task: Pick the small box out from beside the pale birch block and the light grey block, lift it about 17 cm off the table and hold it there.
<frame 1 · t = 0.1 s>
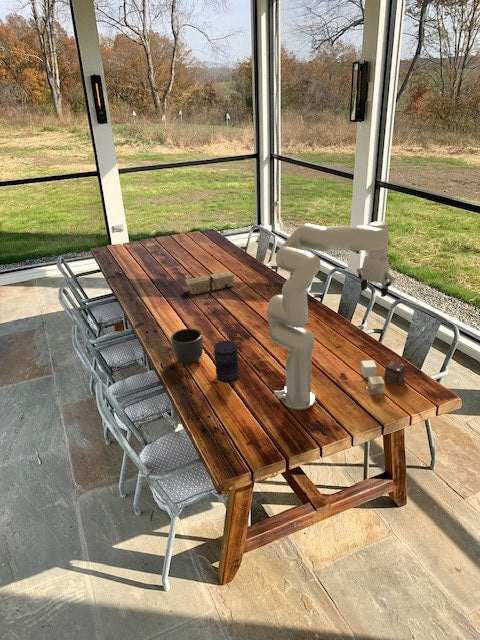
hand: (373, 292, 191), 31 cm above the table, tool pointing down, fingers open, 9 cm apart
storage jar: (227, 377, 198), on the table
grey block: (368, 373, 194), on the table
planter: (189, 360, 212), on the table
box: (393, 381, 188), on the table
birch block: (375, 390, 183), on the table
tan double block: (210, 289, 288), on the table
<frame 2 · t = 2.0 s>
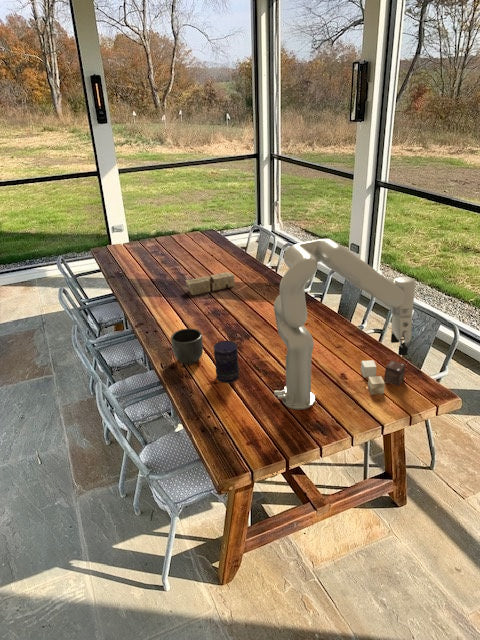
hand: (398, 348, 182), 15 cm above the table, tool pointing down, fingers open, 9 cm apart
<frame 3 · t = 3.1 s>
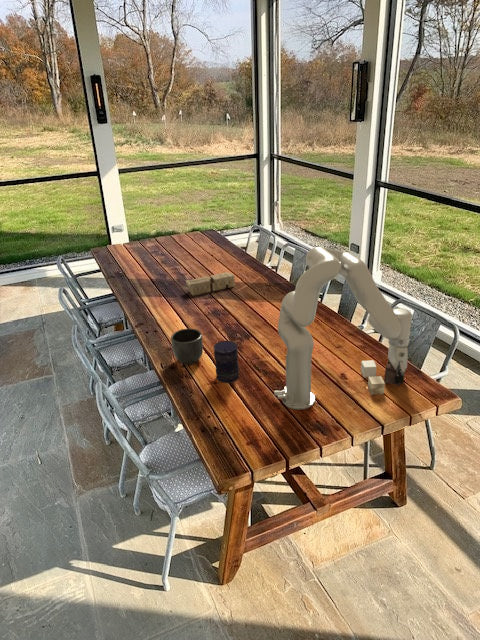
hand: (394, 376, 187), 2 cm above the table, tool pointing down, fingers open, 9 cm apart
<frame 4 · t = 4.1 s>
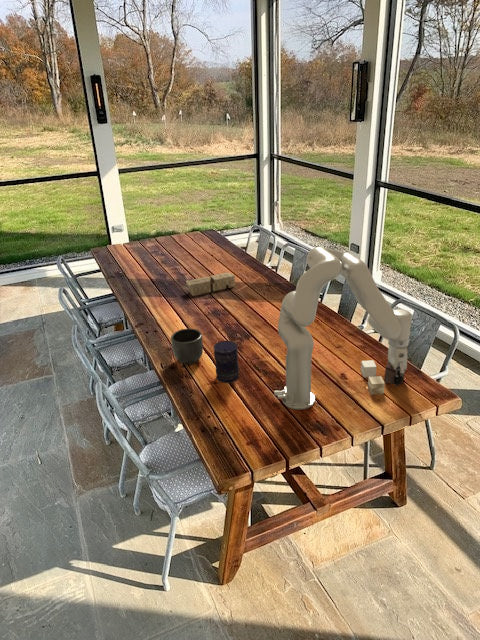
hand: (394, 377, 188), 1 cm above the table, tool pointing down, fingers closed on box, 8 cm apart
box: (393, 381, 188), on the table, touching gripper
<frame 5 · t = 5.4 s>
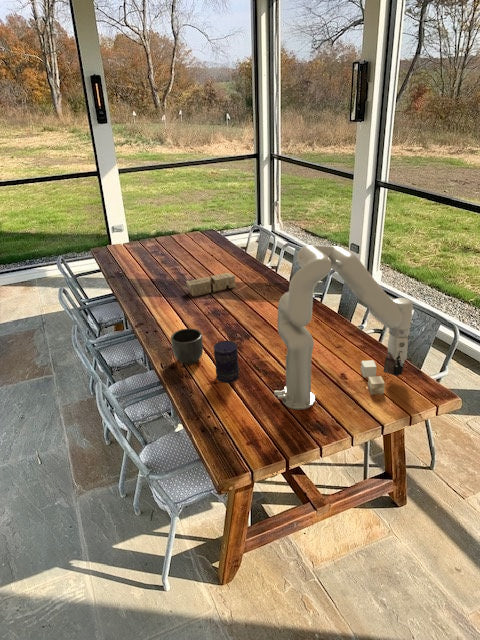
hand: (393, 368, 185), 6 cm above the table, tool pointing down, fingers closed on box, 8 cm apart
box: (393, 371, 186), point 4 cm above the table, touching gripper
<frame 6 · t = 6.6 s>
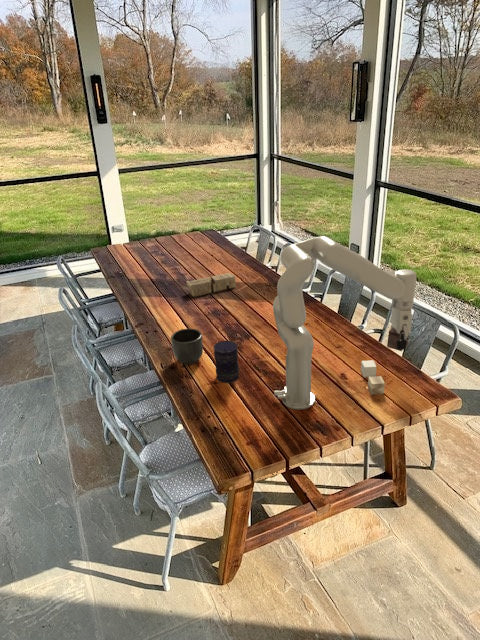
hand: (397, 343, 180), 18 cm above the table, tool pointing down, fingers closed on box, 8 cm apart
box: (397, 346, 181), point 16 cm above the table, touching gripper
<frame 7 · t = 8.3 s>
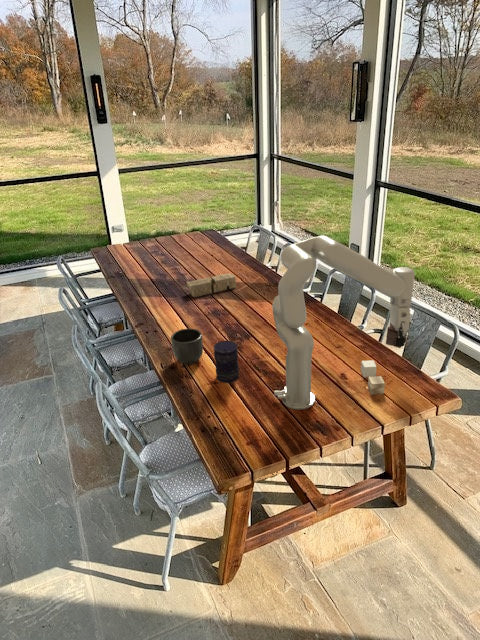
hand: (396, 340, 182), 18 cm above the table, tool pointing down, fingers closed on box, 8 cm apart
box: (395, 343, 183), point 16 cm above the table, touching gripper
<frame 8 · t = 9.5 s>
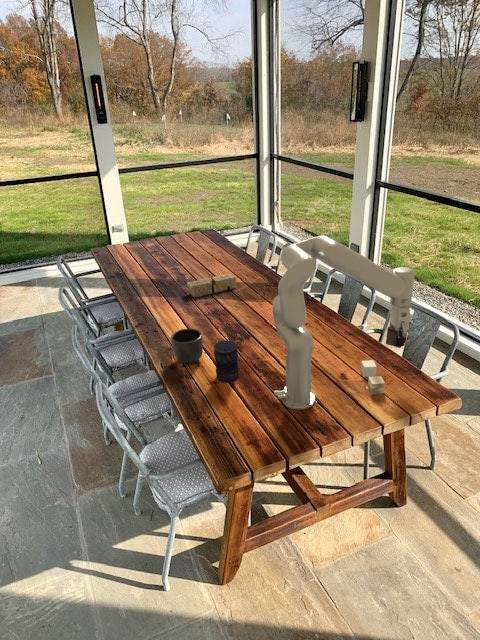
hand: (396, 340, 182), 18 cm above the table, tool pointing down, fingers closed on box, 8 cm apart
box: (395, 343, 183), point 16 cm above the table, touching gripper
at the end: the gripper is holding box; box point 16.2 cm above the table; birch block moved 0.1 cm from its start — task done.
